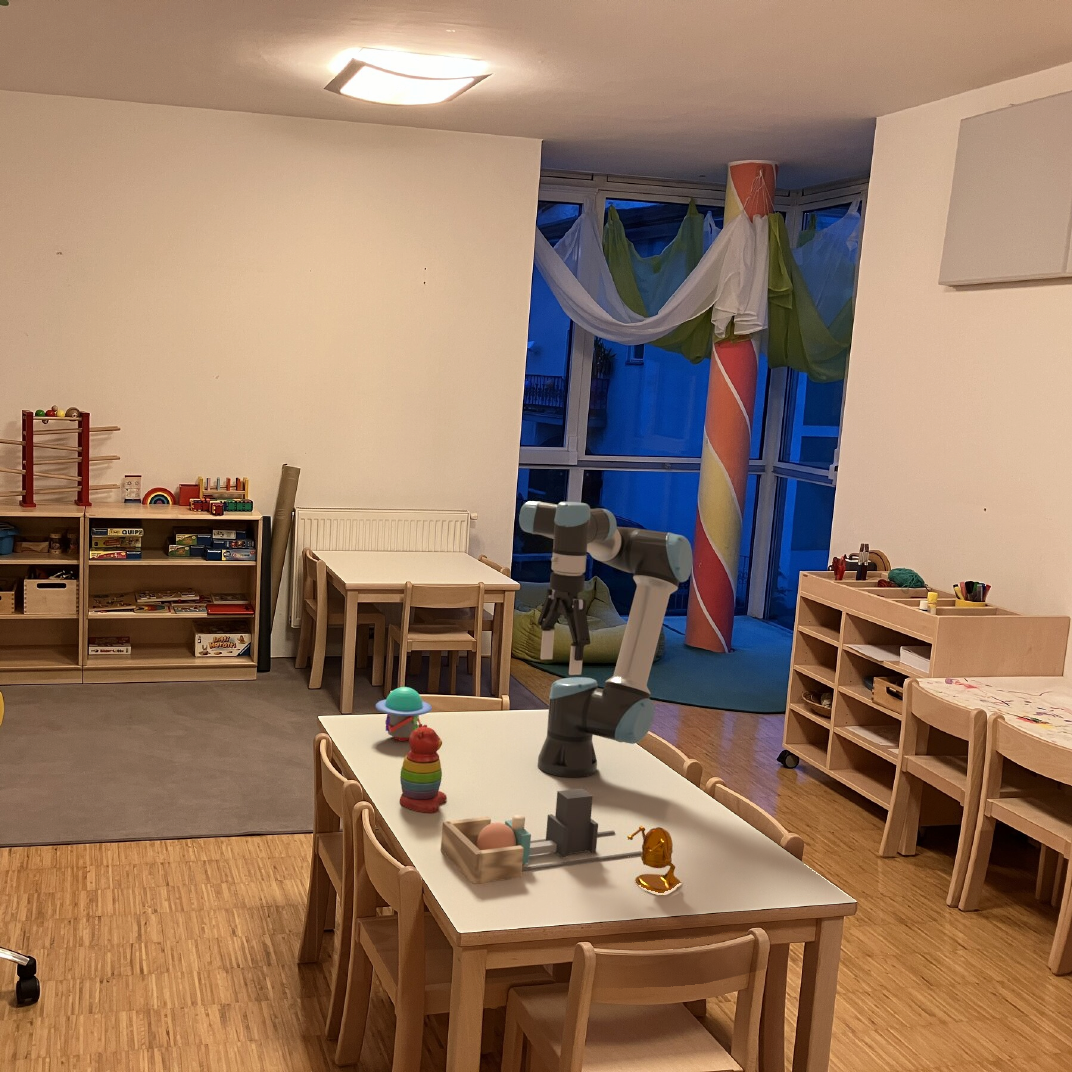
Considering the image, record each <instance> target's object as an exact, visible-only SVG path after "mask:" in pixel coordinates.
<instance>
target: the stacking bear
mask: <svg viewBox="0 0 1072 1072" xmlns="http://www.w3.org/2000/svg"><path fill="white" fill-rule="evenodd" d="M408 742H409V748H410V750H409V751H408V752H407V753H406V755H405V756H404V758H403V762H402V766H401V769H400V777H399V778H400V785H401V792H402V793H401V795H400V797H399V803H400V805H401V806H402V807H405V808H406V809H409V810H413V811H416V812H421V813H426V814H434V813H437V812H439V809H440V808H439V807H440V806H439V804H442V803H446V802H447V799H448V797H447V794H446V793H444V792H442V791H440V786H441V784H442V777H443V772H442V767H441V766H442V765H441V764H442V763H441V760H440V755H439V753H438V751H439V750H440V748H441V747H442V746H443V741H442V739H441V738H440V736H439V735H438V734H437V731H435V730H434V729H433V728H431V727H428V725H427V724H424V725H423V724H422V727H420V728H417V729H415V730H414V731H413V732H412V733H411V735H410V737H409V738H408Z"/></svg>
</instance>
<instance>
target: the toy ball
mask: <svg viewBox="0 0 1072 1072" xmlns="http://www.w3.org/2000/svg"><path fill="white" fill-rule="evenodd" d="M511 846H516V836H515V834H514V832H513V831H512V829H511V828H510V827H508V826H507V825H505V823H502V822H492V823H491V824H489V825H487V826H485V827H484V828H483V829H482V830H481V832H480V834H479V836H478V840H477V847H478V849H479V850H488V849H496V848H503V847H511Z"/></svg>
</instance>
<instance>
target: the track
mask: <svg viewBox="0 0 1072 1072" xmlns="http://www.w3.org/2000/svg"><path fill="white" fill-rule="evenodd" d="M609 835H616V831H614V830H605V831H600V832H599V831H598V834H597V837H601V836H609ZM543 841H546V838H544V839H543V838H542V839H537V840H534V839H533V840H531V841H530V843H535V842H543ZM641 854H642V850H639V851H632V852H625V853H619V854H611V855H602V856H595V857H588V858H582V859H581V858H580V859H574V860H567V861H566V860H565V861H560V862H552V863H544V864H538V865H530V866H524V867H523V866H522V873H523V872H529V871H536V870H537V871H538V870H543V869H544V870H545V869H550V868H551V869H552V868H558V867H565V866H573V865H581V864H586V863H587V864H588V863H594V862H601V861H609V860H615V859H624V858H630V856H631V857H637V855H638V856H641ZM628 856H629V857H628Z"/></svg>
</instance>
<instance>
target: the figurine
mask: <svg viewBox="0 0 1072 1072" xmlns="http://www.w3.org/2000/svg"><path fill="white" fill-rule="evenodd" d="M645 831H646V827H643V826H642V825H639V827H638V829H637V830H636V831H635V832H633V833H632V834H629V835H627V840H630V841H632V840H633V839H634V837H635V836H637V835H638V834H639V833H640V832H641V836H642V844H641V851H642V854H641V855H640V858H641V861H642V864H643V866H648V867H650V868H653V869H664V868H666V867H669V868H668V870H667V872H666V873H665V874H657V873H654V874H653V873H642V874H639V875H638V876H636V877H635V880H634V882H635V881H636V882H635V884H636V883H637V884H638V885H641V887H643V888H646V889H647V890H651V891H655V892H658V893H664V892H665V891H668V890H671V889H672V888H674V887H675V886H676V885H677V884H679V883H682V882H681V880H680V879H679V878H678V877H676V876H675V874H674V873H675V870H676V865H675V864H674V863H673V862H672V860H673V858H672V854H673V851H674V850H673V844H674V843H673V840H672V835H671V834H670V832H669V831H668V830H666V829H665V828H664V827H663V828H662V827H661V826H657V827H654V828H651V829H649V831H648V832H645ZM637 884H636V885H637ZM638 885H637V886H638Z"/></svg>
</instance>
